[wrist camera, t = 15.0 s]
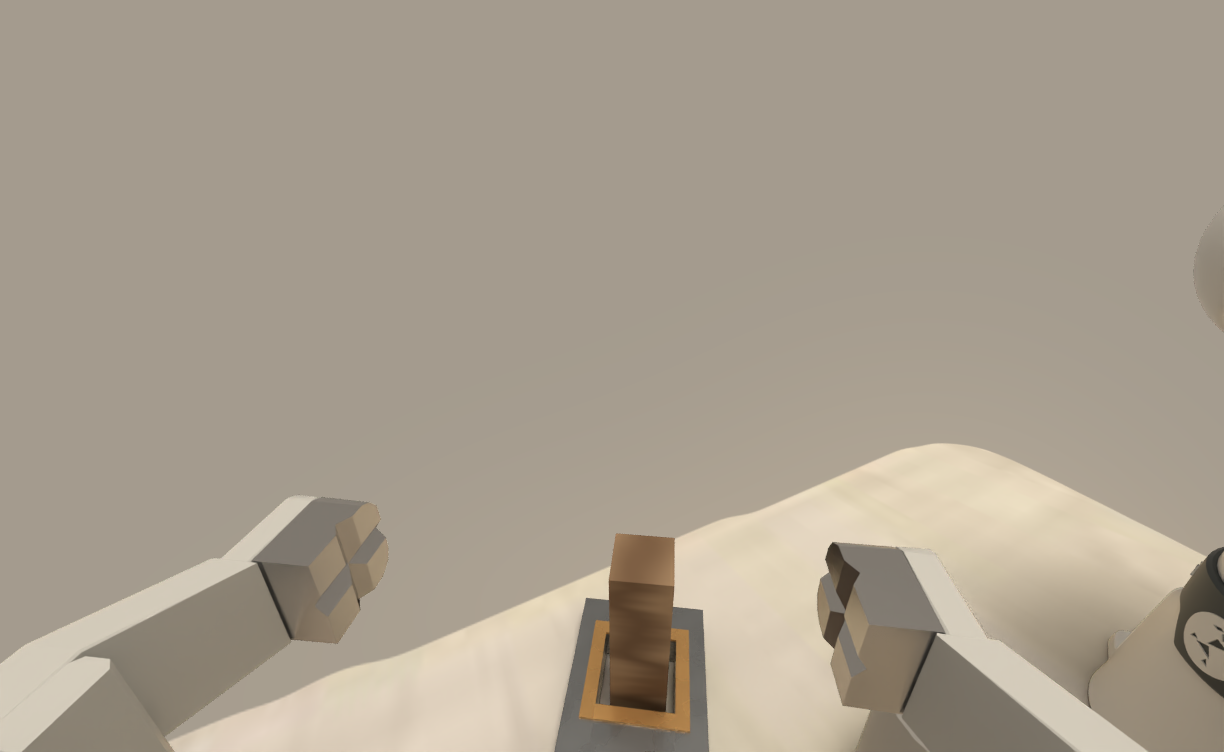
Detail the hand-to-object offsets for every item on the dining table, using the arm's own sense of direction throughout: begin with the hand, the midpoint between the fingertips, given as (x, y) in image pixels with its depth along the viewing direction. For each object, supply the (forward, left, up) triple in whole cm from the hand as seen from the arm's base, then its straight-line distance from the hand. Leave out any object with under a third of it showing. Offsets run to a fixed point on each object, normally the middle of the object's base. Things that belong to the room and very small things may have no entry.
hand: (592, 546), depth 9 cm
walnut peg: (0, -17, -32) cm, 36 cm away
